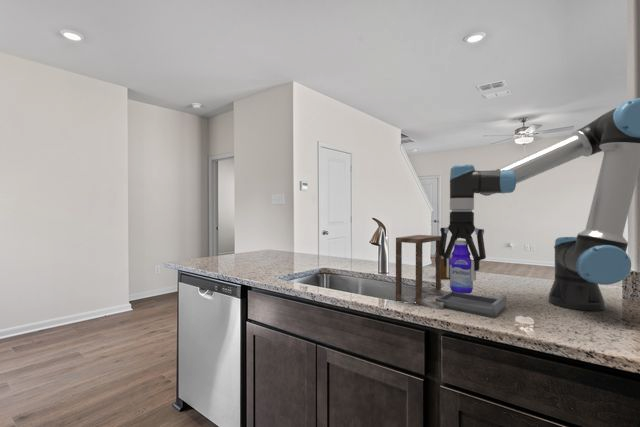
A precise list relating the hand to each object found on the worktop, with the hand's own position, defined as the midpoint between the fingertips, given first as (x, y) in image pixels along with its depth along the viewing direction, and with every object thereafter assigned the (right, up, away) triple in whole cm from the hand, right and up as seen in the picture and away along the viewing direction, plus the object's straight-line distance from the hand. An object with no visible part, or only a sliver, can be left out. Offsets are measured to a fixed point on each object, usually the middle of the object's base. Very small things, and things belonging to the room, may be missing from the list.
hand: (461, 278), depth 110 cm
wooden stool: (-8, -9, +7) cm, 14 cm away
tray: (+2, -9, -2) cm, 10 cm away
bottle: (0, -5, 0) cm, 5 cm away
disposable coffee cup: (+11, -9, +45) cm, 47 cm away
